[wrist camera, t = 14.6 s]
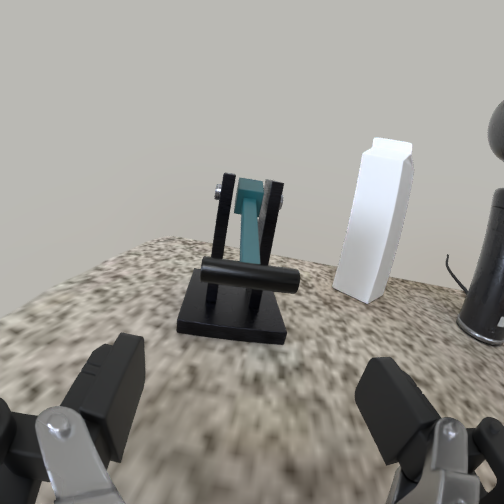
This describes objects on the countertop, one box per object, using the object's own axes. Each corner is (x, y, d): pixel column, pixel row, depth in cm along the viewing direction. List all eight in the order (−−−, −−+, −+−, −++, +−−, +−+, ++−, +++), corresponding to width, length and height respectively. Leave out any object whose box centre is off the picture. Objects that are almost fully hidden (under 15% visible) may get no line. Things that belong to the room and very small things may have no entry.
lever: (292, 304, 16) (304, 273, 15) (198, 293, 16) (201, 259, 14) (274, 206, 27) (280, 184, 26) (218, 197, 26) (221, 174, 25)
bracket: (283, 345, 23) (320, 191, 19) (176, 332, 22) (193, 169, 18) (266, 288, 34) (287, 182, 31) (193, 278, 33) (207, 169, 30)
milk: (367, 304, 34) (407, 136, 28) (330, 287, 38) (364, 130, 32) (383, 295, 38) (418, 149, 32) (350, 280, 42) (381, 142, 36)
